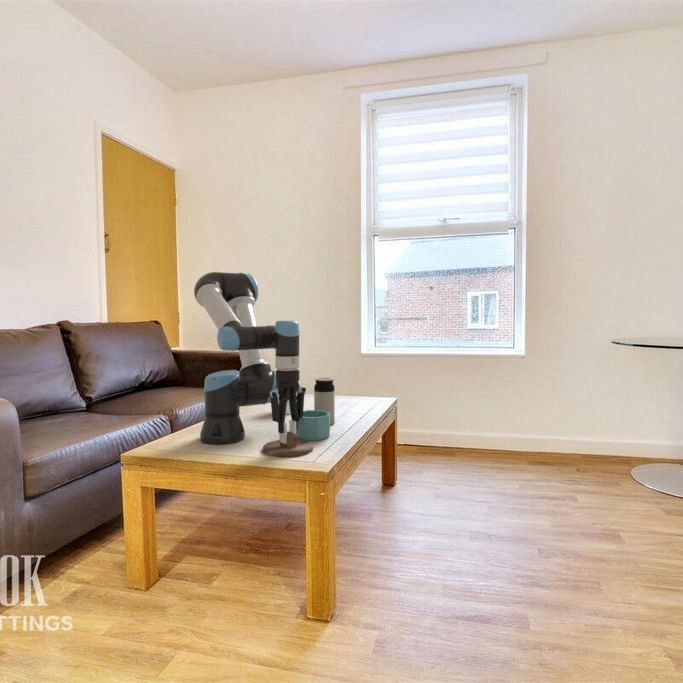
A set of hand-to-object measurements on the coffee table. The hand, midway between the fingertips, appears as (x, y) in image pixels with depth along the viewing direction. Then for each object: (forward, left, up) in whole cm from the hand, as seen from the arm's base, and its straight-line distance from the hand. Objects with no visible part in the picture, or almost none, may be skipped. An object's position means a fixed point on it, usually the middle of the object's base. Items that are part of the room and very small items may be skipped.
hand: (288, 441), depth 151 cm
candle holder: (-45, +32, -3) cm, 55 cm away
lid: (0, 0, -3) cm, 3 cm away
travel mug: (-18, +31, -3) cm, 36 cm away
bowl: (-7, +16, -3) cm, 18 cm away
